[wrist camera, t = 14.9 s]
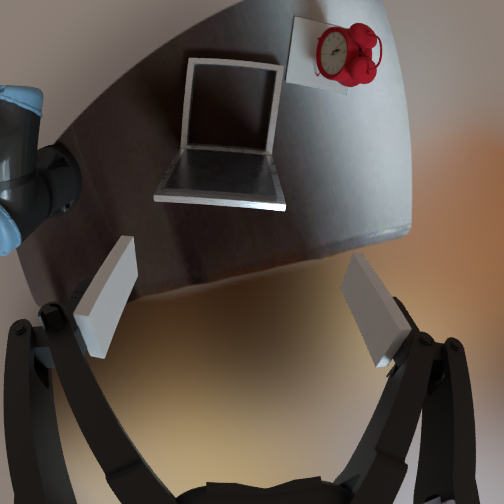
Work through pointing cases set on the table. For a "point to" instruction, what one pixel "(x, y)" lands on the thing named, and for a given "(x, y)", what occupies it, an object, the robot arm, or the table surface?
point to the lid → (222, 180)
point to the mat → (308, 57)
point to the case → (236, 64)
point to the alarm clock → (347, 54)
